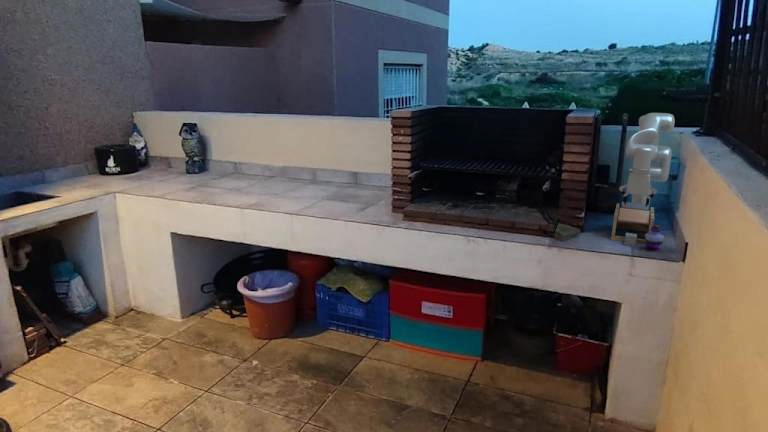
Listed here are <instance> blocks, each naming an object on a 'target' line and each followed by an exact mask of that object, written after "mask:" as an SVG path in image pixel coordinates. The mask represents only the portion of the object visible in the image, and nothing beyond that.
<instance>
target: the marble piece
mask: <svg viewBox="0 0 768 432" xmlns="http://www.w3.org/2000/svg"><path fill="white" fill-rule="evenodd" d="M557 223H558V225H557V228H556V230H555V233H554V237H553V238H555V240H559V241H561V242H565V241H569V240H571V239H573V238H577V237H578V238H579V237H580V235H581V229H579V228H578V227H577V228H576V227H574V226H571V225H568V224H563V223H560V222H557Z"/></svg>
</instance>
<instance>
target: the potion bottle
mask: <svg viewBox="0 0 768 432" xmlns="http://www.w3.org/2000/svg"><path fill="white" fill-rule="evenodd" d="M661 229H662V228H660V225H658V224H653V227H651V231H652V233H647V232H646V233H645V234H644V240H645V241H646V244H645V247H646V250H649V251H653V250H658V251H659V248H660V246H663V243H664V238H665V236H664V235H663V234H661V233H660V232H661V231H662V230H661ZM653 252H654V251H653Z"/></svg>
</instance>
